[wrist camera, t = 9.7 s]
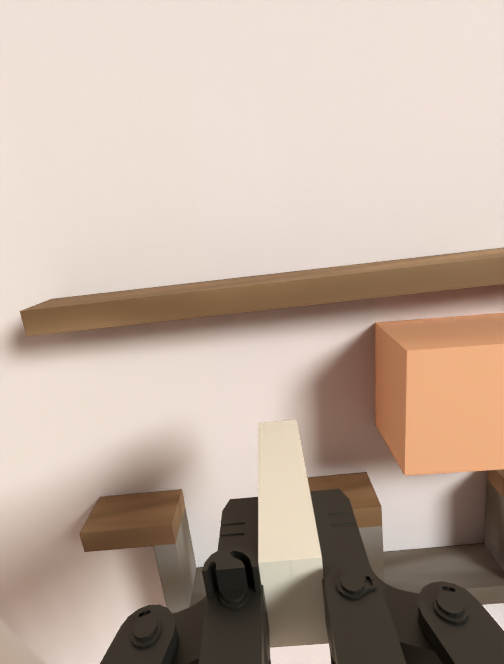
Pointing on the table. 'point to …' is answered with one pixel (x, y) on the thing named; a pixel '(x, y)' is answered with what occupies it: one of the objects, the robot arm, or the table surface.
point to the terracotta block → (441, 392)
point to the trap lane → (391, 567)
